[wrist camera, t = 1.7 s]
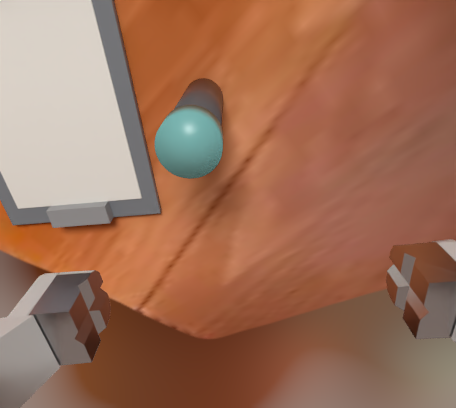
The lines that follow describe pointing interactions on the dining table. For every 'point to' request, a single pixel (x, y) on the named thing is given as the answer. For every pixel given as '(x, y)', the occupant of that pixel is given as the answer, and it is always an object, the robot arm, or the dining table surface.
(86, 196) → the clipboard
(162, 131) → the marker
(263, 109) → the dining table surface
